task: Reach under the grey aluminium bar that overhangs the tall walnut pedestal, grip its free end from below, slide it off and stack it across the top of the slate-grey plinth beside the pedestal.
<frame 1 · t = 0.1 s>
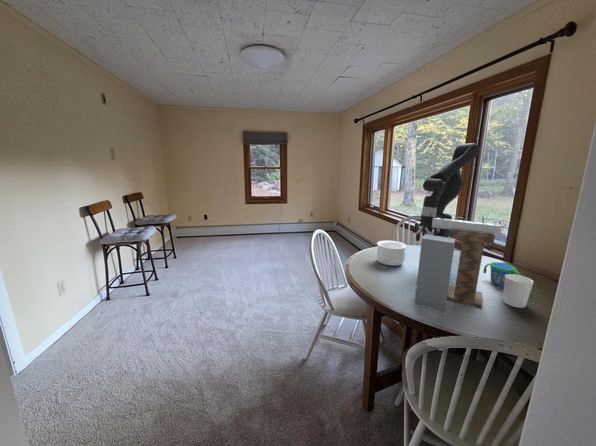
hand: (423, 242, 151), 17 cm above the table, tool pointing down, fingers open, 8 cm apart
snack cup: (499, 284, 139), on the table
pot: (390, 263, 167), on the table
slate plinth: (430, 302, 120), on the table
aluminium bar: (464, 230, 119), point 32 cm above the table, touching walnut pedestal
walnut pedestal: (461, 296, 125), on the table
candle holder: (513, 303, 120), on the table
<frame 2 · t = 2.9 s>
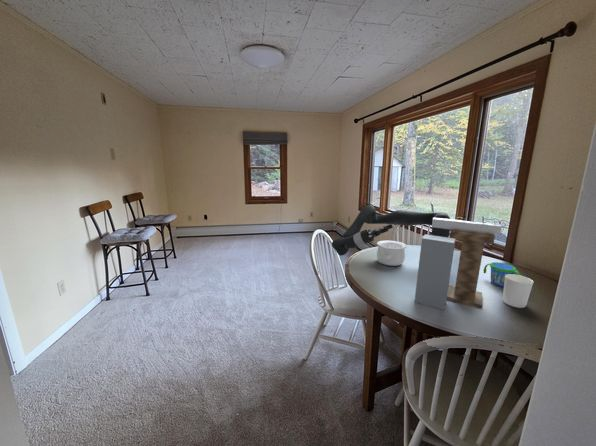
hand: (389, 227, 141), 28 cm above the table, tool pointing upward, fingers open, 8 cm apart
nothing on the table moved.
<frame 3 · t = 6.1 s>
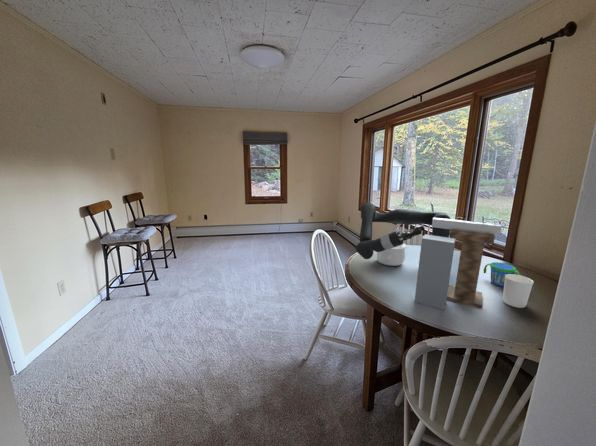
hand: (422, 229, 129), 30 cm above the table, tool pointing upward, fingers open, 8 cm apart
nothing on the table moved.
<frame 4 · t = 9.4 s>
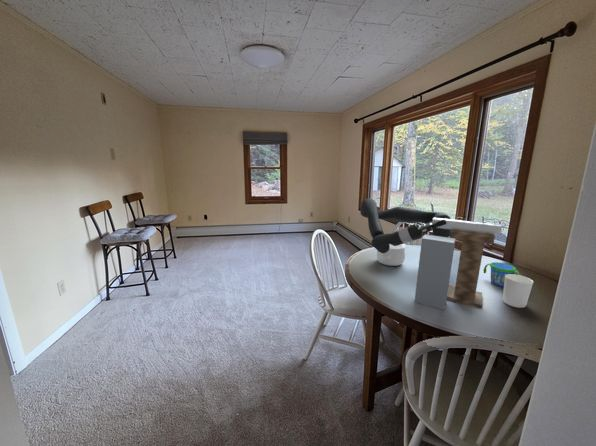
hand: (446, 220, 123), 35 cm above the table, tool pointing upward, fingers closed on aluminium bar, 4 cm apart
aluminium bar: (464, 230, 119), point 32 cm above the table, touching gripper, walnut pedestal
everything else where it was.
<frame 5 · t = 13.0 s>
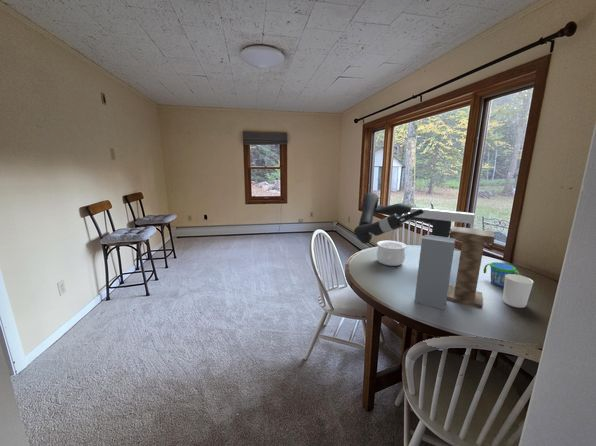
hand: (423, 210, 127), 39 cm above the table, tool pointing upward, fingers closed on aluminium bar, 4 cm apart
aluminium bar: (440, 219, 124), point 36 cm above the table, touching gripper
everything else where it was.
when the fingers open (36 cm above the table, at t = 16.9 s): aluminium bar drops 2 cm, resting on slate plinth.
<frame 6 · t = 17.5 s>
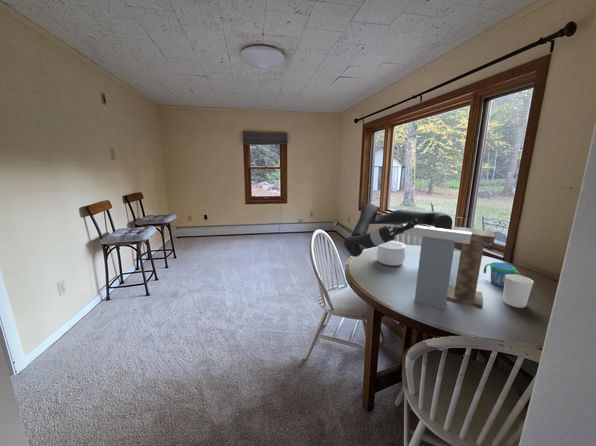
hand: (415, 222, 117), 35 cm above the table, tool pointing upward, fingers open, 8 cm apart
aluminium bar: (434, 237, 114), point 30 cm above the table, touching slate plinth
everything else where it was.
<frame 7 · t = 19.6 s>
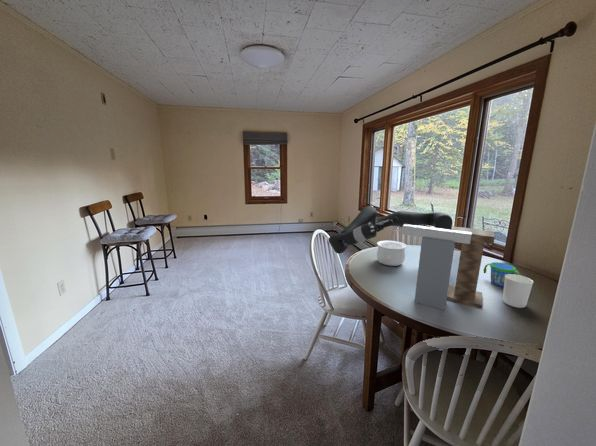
hand: (395, 220, 122), 36 cm above the table, tool pointing upward, fingers open, 8 cm apart
nothing on the table moved.
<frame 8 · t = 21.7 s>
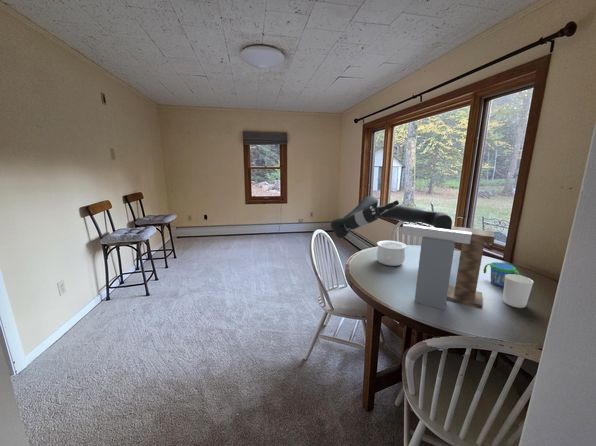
hand: (396, 203, 124), 43 cm above the table, tool pointing upward, fingers open, 8 cm apart
nothing on the table moved.
at the end: aluminium bar inside the target area on the slate plinth (1.7 cm from its centre), point 30.0 cm above the slate plinth's base; the gripper is holding nothing; aluminium bar tilted 0° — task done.
